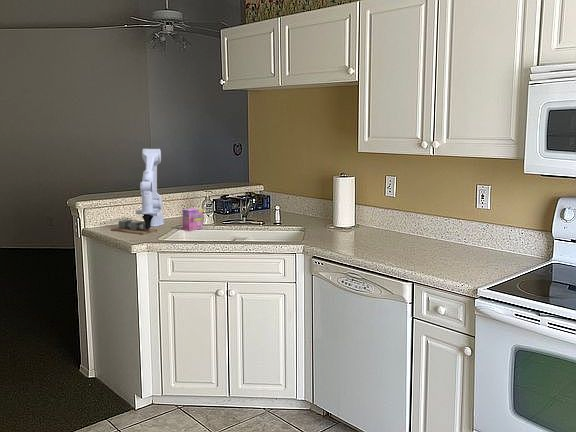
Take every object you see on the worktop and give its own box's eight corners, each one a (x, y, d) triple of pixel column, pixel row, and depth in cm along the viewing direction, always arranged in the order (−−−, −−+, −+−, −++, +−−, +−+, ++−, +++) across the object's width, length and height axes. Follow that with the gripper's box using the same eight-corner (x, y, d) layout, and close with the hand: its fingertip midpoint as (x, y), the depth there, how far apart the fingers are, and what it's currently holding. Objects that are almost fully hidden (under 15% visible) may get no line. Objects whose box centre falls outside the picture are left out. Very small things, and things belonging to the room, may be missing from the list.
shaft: (121, 226, 326) (121, 219, 325) (149, 229, 318) (149, 223, 317) (116, 227, 323) (116, 220, 322) (145, 230, 314) (144, 224, 314)
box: (189, 231, 321) (189, 210, 319) (182, 230, 325) (182, 209, 323) (203, 228, 330) (203, 208, 328) (196, 227, 333) (195, 207, 331)
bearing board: (125, 226, 330) (125, 218, 329) (156, 230, 321) (156, 222, 320) (110, 230, 320) (110, 221, 319) (142, 234, 310) (142, 225, 309)
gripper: (131, 203, 313) (132, 228, 315) (153, 205, 307) (154, 230, 309) (140, 201, 319) (141, 226, 321) (161, 203, 313) (162, 228, 315)
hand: (148, 228), depth 316 cm, fingers closed, pressing on shaft
